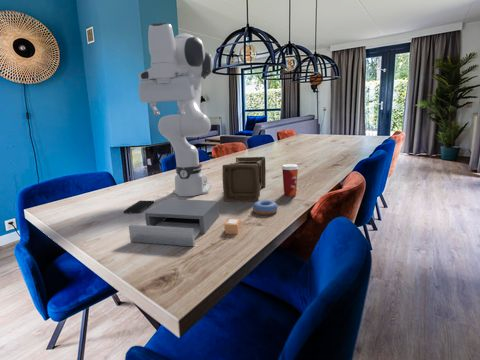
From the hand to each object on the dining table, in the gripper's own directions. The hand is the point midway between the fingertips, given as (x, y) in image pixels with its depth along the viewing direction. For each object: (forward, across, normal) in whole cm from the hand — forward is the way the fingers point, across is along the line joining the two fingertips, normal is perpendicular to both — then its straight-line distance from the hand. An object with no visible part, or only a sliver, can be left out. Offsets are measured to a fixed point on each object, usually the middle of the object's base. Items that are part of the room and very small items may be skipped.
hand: (168, 114), depth 104 cm
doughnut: (+40, -32, -13) cm, 53 cm away
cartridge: (+40, -24, +7) cm, 47 cm away
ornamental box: (+39, -18, -41) cm, 60 cm away
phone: (+40, +24, -11) cm, 48 cm away
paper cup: (+39, -39, -37) cm, 67 cm away
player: (+40, -4, +3) cm, 40 cm away
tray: (+40, -4, +13) cm, 42 cm away
